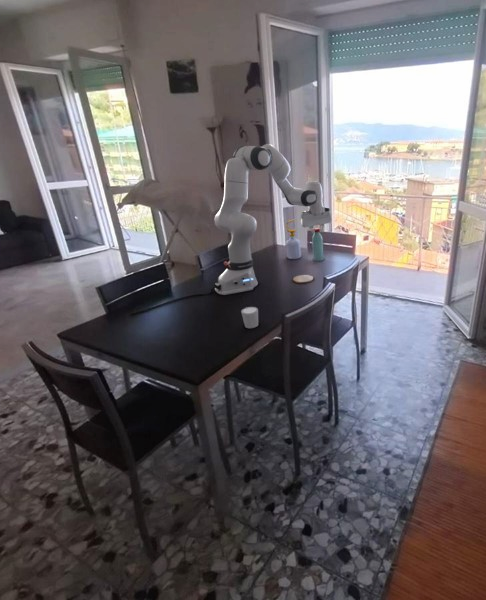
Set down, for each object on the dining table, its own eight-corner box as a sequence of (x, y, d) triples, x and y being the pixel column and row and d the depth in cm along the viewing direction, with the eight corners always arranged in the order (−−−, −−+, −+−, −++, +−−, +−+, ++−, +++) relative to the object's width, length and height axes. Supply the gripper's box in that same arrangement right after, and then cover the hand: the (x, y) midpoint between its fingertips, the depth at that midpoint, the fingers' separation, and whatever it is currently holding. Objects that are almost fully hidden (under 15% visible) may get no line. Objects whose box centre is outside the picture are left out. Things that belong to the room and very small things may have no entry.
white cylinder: (253, 319, 154) (250, 305, 151) (263, 324, 150) (261, 309, 147) (240, 325, 149) (237, 311, 146) (250, 330, 145) (248, 315, 142)
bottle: (316, 261, 223) (315, 231, 214) (311, 259, 228) (309, 229, 219) (325, 259, 226) (323, 229, 218) (320, 257, 231) (318, 227, 223)
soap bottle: (300, 259, 228) (297, 221, 218) (286, 259, 228) (282, 221, 218) (301, 254, 236) (299, 217, 226) (288, 255, 237) (285, 218, 226)
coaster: (299, 285, 188) (299, 283, 188) (289, 279, 197) (289, 277, 196) (317, 280, 194) (317, 278, 194) (307, 274, 202) (307, 273, 202)
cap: (315, 232, 216) (315, 229, 216) (312, 231, 220) (312, 228, 219) (321, 231, 219) (321, 228, 218) (318, 230, 222) (317, 227, 221)
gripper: (303, 212, 206) (304, 236, 212) (332, 208, 216) (333, 230, 222) (298, 211, 211) (299, 233, 216) (327, 206, 221) (327, 228, 227)
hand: (317, 232), depth 219 cm, fingers closed on cap, 4 cm apart
